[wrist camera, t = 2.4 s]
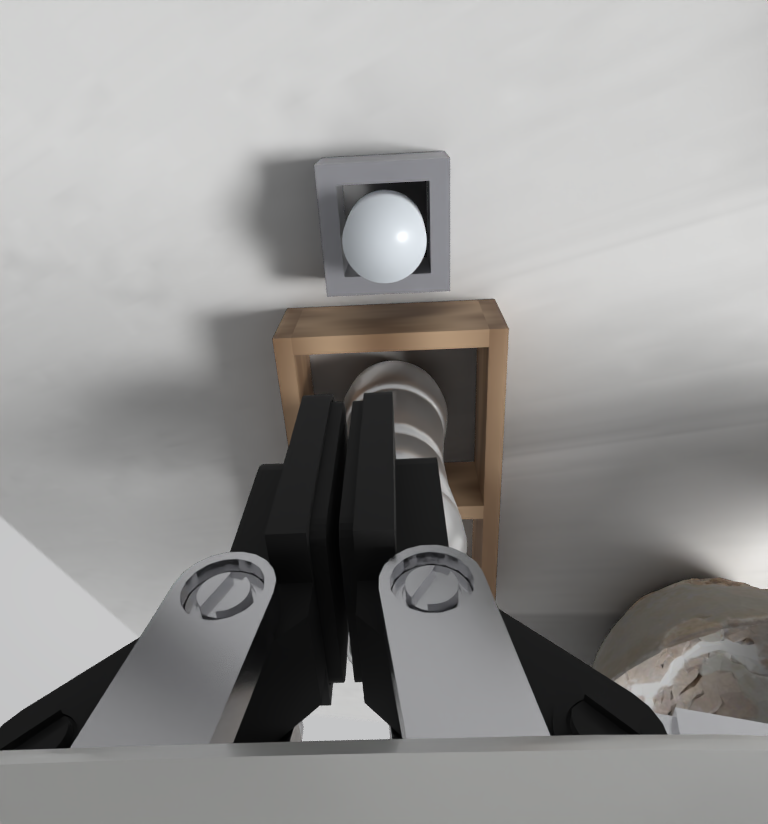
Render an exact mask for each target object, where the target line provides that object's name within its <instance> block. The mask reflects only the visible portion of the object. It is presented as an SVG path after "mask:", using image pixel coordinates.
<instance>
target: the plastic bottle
mask: <svg viewBox="0 0 768 824" xmlns="http://www.w3.org/2000/svg"><path fill="white" fill-rule="evenodd" d="M372 392H393V408H394V428H395V447H396V459H407V458H431V457H437V461H438V468H439V476H440V483H441V491H442V498H443V506H444V513H445V521H446V528H447V536H448V543H449V547H451V548H454V549H456V550H459V551H461V552H463V553H467V538H466V534H465V530H464V526H463V522H462V519H461V515H460V513H459V510H458V508H457V505H456V502H455V500H454V497H453V495H452V492H451V489H450V487H449V484H448V480H447V475H446V471H445V466H444V461H443V448H444V439H445V435H446V430H447V421H448V411H447V405H446V401H445V399H444V397H443V394H442V392H441V390H440V389H439V387H438V385H437V383H436V382H435V381H434V380H433V378H432V377H431V376H430V375H429V374H428V373H427V372H426V371H424V370H423V369H421V368H419V367H418V366H416V365H413V364H411V363H408V362H403V361H384V362H380V363H377V364H374V365H372V366H370V367H368V368H367V369H365V370H364V371H363V372H361V373H360V374H359V375H358V376H357V378H356V379H355V380H354V382H353V383H352V385H351V387H350V388H349V390H348V392H347V394H346V396H345V399H344V403H345V411H346V421H347V432H348V437H349V428H350V419H351V411H352V402H353V401H362V400H363V395H364V393H372ZM347 656H348V658H349V660H350V662H351V663H352V655H351V646H350V637H349V635H348V649H347ZM352 664H353V663H352Z"/></svg>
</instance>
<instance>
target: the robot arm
mask: <svg viewBox="0 0 768 824" xmlns="http://www.w3.org/2000/svg"><path fill="white" fill-rule="evenodd" d="M348 635H349V637H350V646H351V655H352V663H353V672H354V680H355V682H363V692H364V701H365V703H366V704H367V705H368V706H369V707H370V708H371V709H372V710H373V711H374V712H376V713H377V714H378V715H379V716H380V717H381V718H382V719H383V720H384V721H385V722H387V723H388V724H389V728H390V729H389V730H390V739H383V740H381V739H380V740H346V741H345V740H343V741H303V742H302V735H303V722H302V720H303V719H304V718H306V717H307V716H308V715H309V714H310V713H311V712H313V711H314V710H315V709H316V708H317V707H318V706H320V705H331V699H332V688H333V683H343V682H345V676H346V663H347V649H348ZM0 824H768V724H767V723H761V722H755V721H750V720H744V719H738V718H733V717H727V716H721V715H716V714H710V713H704V712H699V711H693V710H687V709H682V708H676V707H675V709H674V713H673V716H669V715H664V714H658V713H654V712H653V710H652V709H651V708H650V707H649V706H648V705H647V704H646V703H644V702H643V701H642V700H641V699H639V698H638V697H637V696H636V695H634V694H633V693H632V692H630V691H628V690H627V689H625V688H624V687H622V686H620V685H619V684H617V683H616V682H614V681H613V680H611V679H609V678H608V677H606V676H605V675H603V674H601V673H600V672H598V671H597V670H595V669H593V668H592V667H590V666H589V665H587V664H585V663H584V662H582V661H581V660H579V659H577V658H576V657H574V656H573V655H571V654H570V653H568V652H566V651H565V650H563V649H562V648H560V647H558V646H557V645H555V644H554V643H552V642H550V641H549V640H547V639H546V638H544V637H542V636H541V635H539V634H538V633H536V632H534V631H533V630H531V629H530V628H528V627H527V626H525V625H523V624H522V623H520V622H519V621H517V620H515V619H514V618H512V617H511V616H509V615H507V614H506V613H504V612H503V611H501V610H499V609H498V607H497V604H496V602H495V600H494V597H493V595H492V592H491V590H490V587H489V585H488V583H487V580H486V578H485V575H484V573H483V571H482V570H481V568H480V567H479V565H478V564H477V562H476V561H474V560H473V559H472V558H471V557H469V556H468V555H467V554H466V553H463V552H461V551H459V550H456V549H454V548H451V547H449V543H448V536H447V528H446V521H445V513H444V506H443V498H442V491H441V483H440V476H439V468H438V461H437V457H431V458H407V459H396V447H395V428H394V408H393V392H372V393H364V395H363V400H362V401H353V402H352V411H351V419H350V428H349V437H348V432H347V421H346V411H345V403H344V401H339V402H334V398H333V395H332V394H327V395H304V396H303V397H302V400H301V404H300V407H299V411H298V414H297V418H296V422H295V425H294V429H293V432H292V436H291V440H290V443H289V447H288V450H287V454H286V458H285V461H284V464H263V465H261V466H260V467H259V469H258V472H257V475H256V478H255V480H254V483H253V486H252V489H251V492H250V495H249V498H248V501H247V504H246V507H245V510H244V513H243V516H242V519H241V522H240V525H239V528H238V531H237V533H236V536H235V539H234V542H233V545H232V548H231V551H230V552H226V553H222V554H218V555H214V556H210V557H208V558H206V559H204V560H202V561H200V562H197V563H196V564H194V565H193V566H191V567H190V568H189V569H187V570H186V571H185V572H183V573H182V575H181V576H180V577H179V578H178V579H177V580H176V582H175V583H174V584H173V586H172V587H171V589H170V590H169V592H168V593H167V595H166V597H165V598H164V600H163V601H162V603H161V605H160V606H159V608H158V609H157V611H156V613H155V614H154V616H153V617H152V619H151V620H150V622H149V624H148V625H147V627H146V628H145V630H144V632H143V633H142V635H141V636H140V637H139V638H138V639H136V640H134V641H133V642H132V643H130V644H128V645H126V646H125V647H123V648H122V649H120V650H118V651H117V652H115V653H114V654H112V655H110V656H109V657H107V658H106V659H104V660H102V661H101V662H99V663H98V664H96V665H95V666H93V667H91V668H89V669H88V670H86V671H85V672H83V673H81V674H80V675H78V676H77V677H75V678H73V679H72V680H70V681H69V682H67V683H65V684H64V685H62V686H60V687H59V688H57V689H56V690H54V691H52V692H51V693H49V694H48V695H46V696H44V697H43V698H41V699H40V700H38V701H37V702H35V703H33V704H32V705H30V706H28V707H27V708H25V709H23V710H22V711H20V712H19V713H18V714H17V715H15V716H14V717H12V718H11V719H10V720H8V721H7V722H6V723H4V724H3V725H2V726H1V727H0Z"/></svg>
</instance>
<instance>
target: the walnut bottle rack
mask: <svg viewBox="0 0 768 824" xmlns="http://www.w3.org/2000/svg"><path fill="white" fill-rule="evenodd" d="M508 333H509V328H508V326H507V324H506V322H505V320H504V318H503V315H502V313H501V311H500V309H499V307H498V305H497V303H496V301H495V299H487V300H465V301H443V302H420V303H398V304H376V305H354V306H332V307H310V308H288V309H287V310H286V312H285V314H284V316H283V318H282V320H281V322H280V324H279V326H278V328H277V330H276V332H275V334H274V336H273V338H272V340H273V347H274V353H275V360H276V367H277V373H278V380H279V387H280V394H281V400H282V407H283V414H284V420H285V427H286V434H287V440H288V447H289V443H290V440H291V436H292V432H293V429H294V425H295V422H296V418H297V414H298V411H299V407H300V404H301V400H302V397H303V396H304V395H314V390H313V382H312V374H311V365H310V357H309V355H313V354H336V353H360V352H384V351H407V350H431V349H455V348H477V361H476V404H475V448H474V461H473V462H445V463H444V466H445V471H446V475H447V480H448V484H449V487H450V489H451V492H452V495H453V497H454V500H455V502H456V505H457V508H458V510H459V513H460V515H461V519H473V535H472V559H473V560H474V561H476V562H477V564H478V565H479V567H480V568H481V570H482V571H483V573H484V575H485V578H486V580H487V583H488V585H489V587H490V590H491V592H492V595H493V597H494V600H495V597H496V577H497V557H498V536H499V516H500V496H501V475H502V455H503V435H504V415H505V394H506V374H507V354H508Z"/></svg>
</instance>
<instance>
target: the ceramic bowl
mask: <svg viewBox="0 0 768 824" xmlns="http://www.w3.org/2000/svg"><path fill="white" fill-rule="evenodd" d="M592 668H593V669H595V670H597V671H598V672H600V673H601V674H603V675H605V676H606V677H608V678H609V679H611V680H613V681H614V682H616V683H617V684H619V685H620V686H622V687H624V688H625V689H627V690H628V691H630V692H632V693H633V694H634V695H636V696H637V697H638V698H639V699H641V700H642V701H643V702H644V703H646V704H647V705H648V706H649V707H650V708H651V709H652V710H653V712H654V713H658V714H664V715H669V716H673V713H674V709H675V707H676V708H682V709H687V710H693V711H699V712H704V713H710V714H716V715H721V716H727V717H733V718H738V719H744V720H750V721H755V722H761V723H767V724H768V589H759V588H756V587H752V586H750V585H748V584H746V583H741V582H734V581H731V580H727V579H723V578H706V579H698V578H695V579H693V578H691V579H688V580H682V581H680V582H678V583H674V584H672V585H669V586H666V587H664V588H662V589H660V590H658V591H656V592H655V591H653V592H651V593H649V594H647V595H645V596H643V597H641V598H640V599H639V600H637V601H636V602H635V603H634V604H633V605H632V606H631V607H630V608H629V609H628V610H627V612H626V613H625V615H623V617H622V618H621V619H620V620H619V621H618V622H617V623H616V624H615V626H614V627H613V628H612V630H611V631H610V633H609V634H608V636H607V637H606V638H605V640H604V641H603V643H602V645H601V647H600V649H599V651H598V653H597V655H596V658H595V660H594V663H593V666H592Z"/></svg>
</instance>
